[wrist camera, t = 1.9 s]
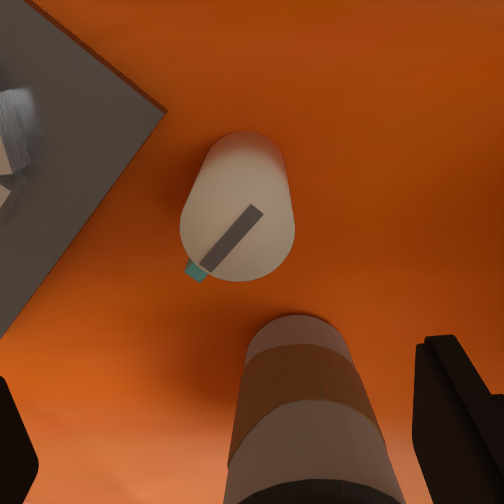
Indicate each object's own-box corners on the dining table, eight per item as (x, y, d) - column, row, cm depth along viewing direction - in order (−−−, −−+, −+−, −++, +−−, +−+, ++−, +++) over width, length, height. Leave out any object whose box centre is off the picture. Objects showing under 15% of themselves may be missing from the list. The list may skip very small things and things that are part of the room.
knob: (238, 112, 24) (227, 151, 17) (303, 167, 25) (319, 226, 18) (178, 188, 26) (144, 253, 19) (241, 236, 27) (232, 315, 20)
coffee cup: (324, 418, 33) (367, 695, 19) (211, 378, 32) (172, 644, 18) (387, 326, 30) (492, 582, 16) (264, 276, 28) (265, 510, 15)
